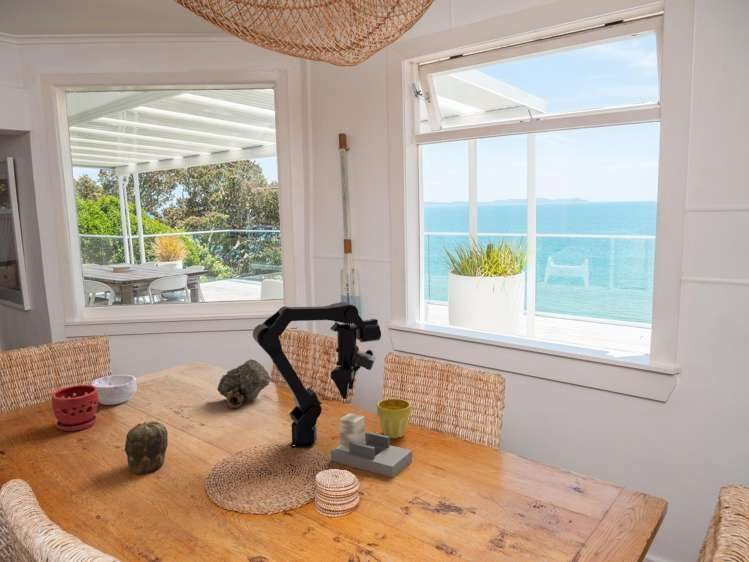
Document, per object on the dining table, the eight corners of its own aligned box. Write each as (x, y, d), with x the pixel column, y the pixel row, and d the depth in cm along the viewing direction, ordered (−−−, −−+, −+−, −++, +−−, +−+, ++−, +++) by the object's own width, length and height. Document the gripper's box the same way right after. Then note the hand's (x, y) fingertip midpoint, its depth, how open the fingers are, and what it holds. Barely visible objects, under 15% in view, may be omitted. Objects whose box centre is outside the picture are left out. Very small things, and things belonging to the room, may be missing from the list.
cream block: (340, 446, 151) (339, 419, 150) (349, 440, 156) (349, 413, 155) (355, 450, 149) (354, 422, 148) (364, 443, 153) (364, 416, 152)
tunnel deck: (331, 460, 150) (330, 440, 149) (352, 446, 159) (352, 426, 158) (392, 477, 140) (392, 455, 139) (412, 460, 149) (412, 440, 148)
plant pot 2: (408, 442, 161) (408, 410, 160) (374, 439, 163) (374, 408, 162) (412, 428, 171) (412, 399, 170) (380, 426, 173) (380, 397, 172)
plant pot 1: (44, 431, 173) (41, 394, 171) (80, 416, 185) (78, 382, 183) (74, 436, 168) (71, 399, 166) (109, 421, 180) (106, 386, 179)
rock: (251, 350, 204) (242, 353, 189) (277, 378, 204) (270, 384, 189) (215, 384, 203) (203, 390, 188) (241, 412, 203) (231, 420, 188)
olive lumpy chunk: (178, 460, 151) (175, 418, 150) (150, 478, 141) (147, 434, 140) (146, 454, 155) (144, 414, 153) (117, 472, 145) (114, 429, 143)
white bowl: (126, 408, 193) (124, 386, 192) (83, 408, 193) (81, 386, 192) (144, 393, 208) (143, 373, 207) (105, 394, 208) (103, 374, 207)
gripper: (368, 352, 154) (368, 405, 156) (377, 337, 172) (378, 385, 174) (329, 351, 155) (330, 403, 157) (343, 336, 174) (344, 384, 176)
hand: (347, 393), depth 166 cm, fingers open, 9 cm apart
